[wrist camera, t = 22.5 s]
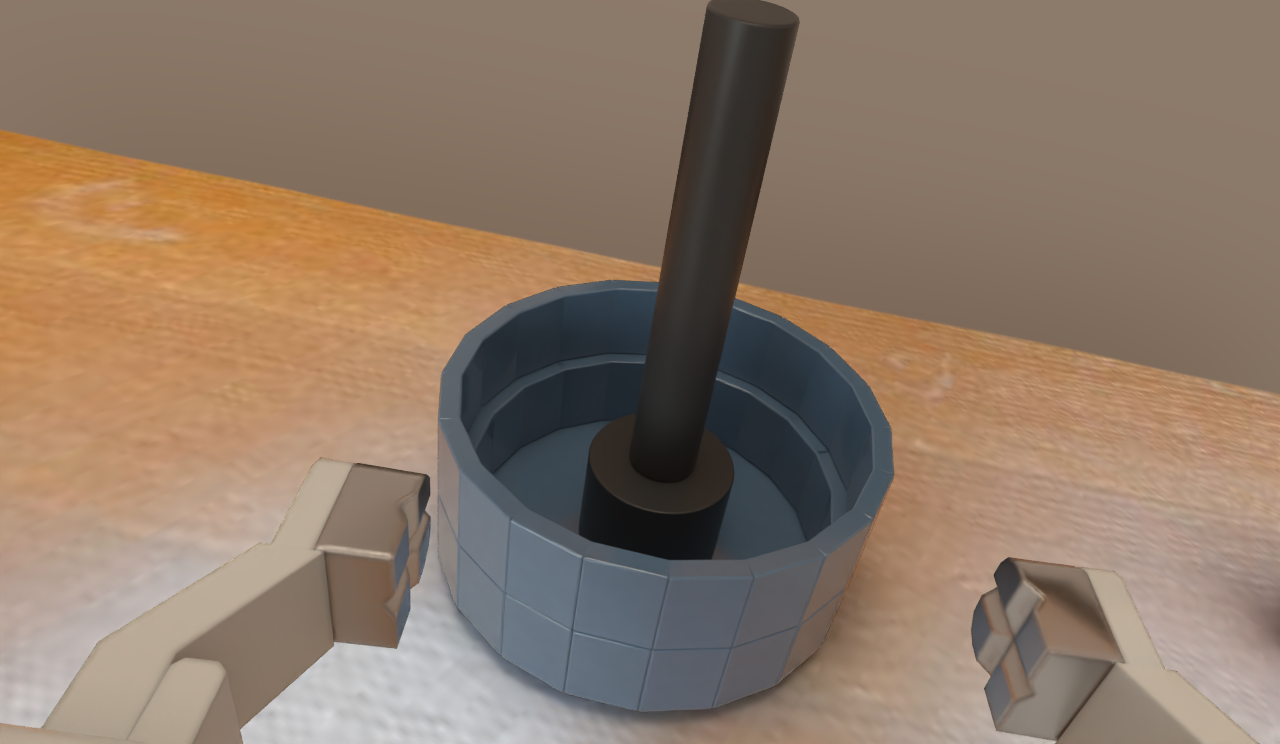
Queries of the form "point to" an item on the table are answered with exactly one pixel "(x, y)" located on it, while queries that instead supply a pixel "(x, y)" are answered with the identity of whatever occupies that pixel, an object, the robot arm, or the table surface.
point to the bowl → (630, 581)
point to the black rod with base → (695, 299)
